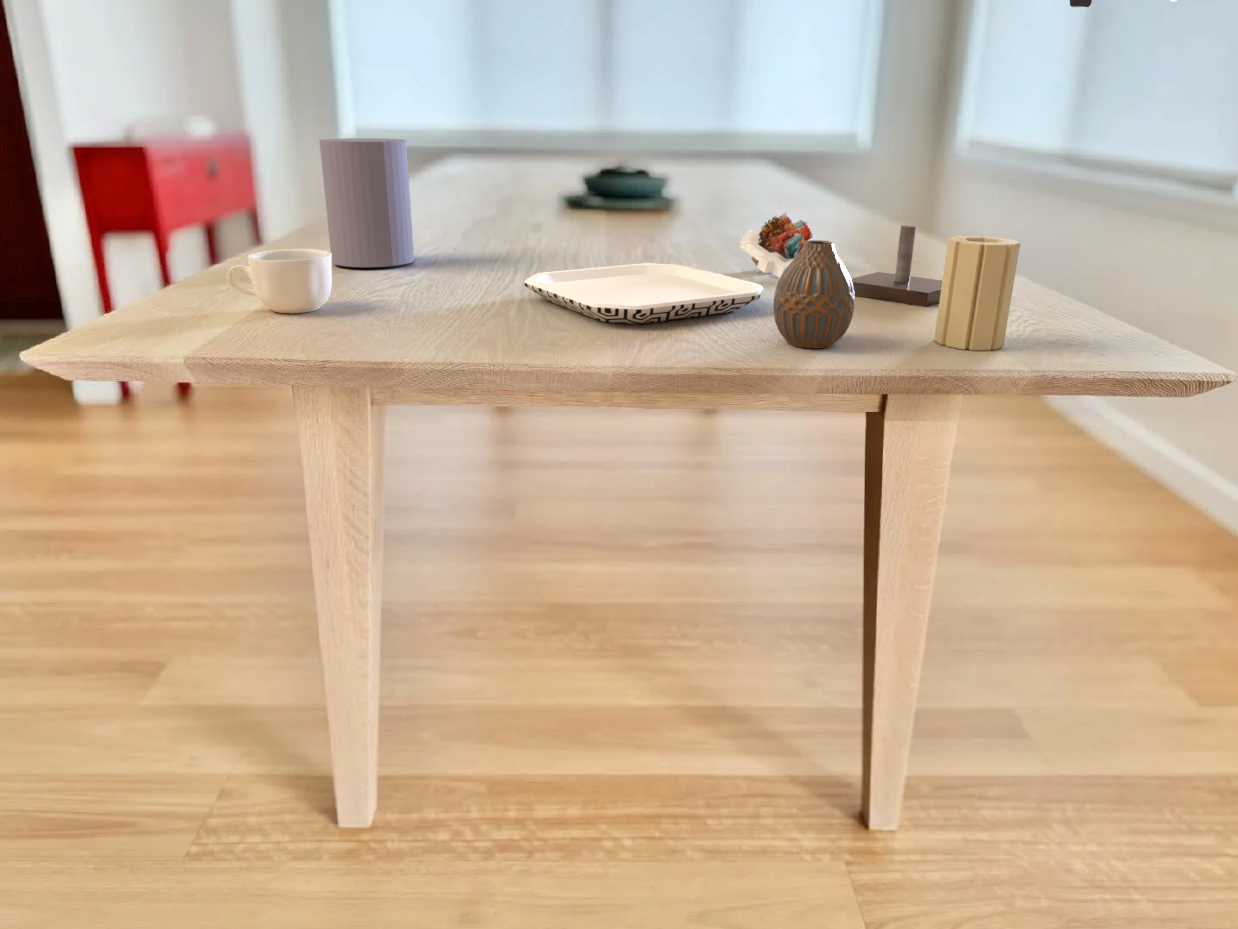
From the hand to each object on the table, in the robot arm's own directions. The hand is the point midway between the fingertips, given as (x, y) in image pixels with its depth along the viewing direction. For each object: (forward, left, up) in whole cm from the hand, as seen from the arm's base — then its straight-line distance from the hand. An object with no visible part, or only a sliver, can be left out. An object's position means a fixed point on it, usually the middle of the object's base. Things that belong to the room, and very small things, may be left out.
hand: (1124, 3), depth 80 cm
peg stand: (+18, -1, -28) cm, 33 cm away
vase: (+13, +25, -28) cm, 40 cm away
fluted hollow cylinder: (+3, +15, -28) cm, 32 cm away
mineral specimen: (+36, -5, -28) cm, 46 cm away
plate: (+35, +23, -28) cm, 51 cm away
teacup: (+58, +51, -28) cm, 82 cm away
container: (+76, +29, -28) cm, 86 cm away
